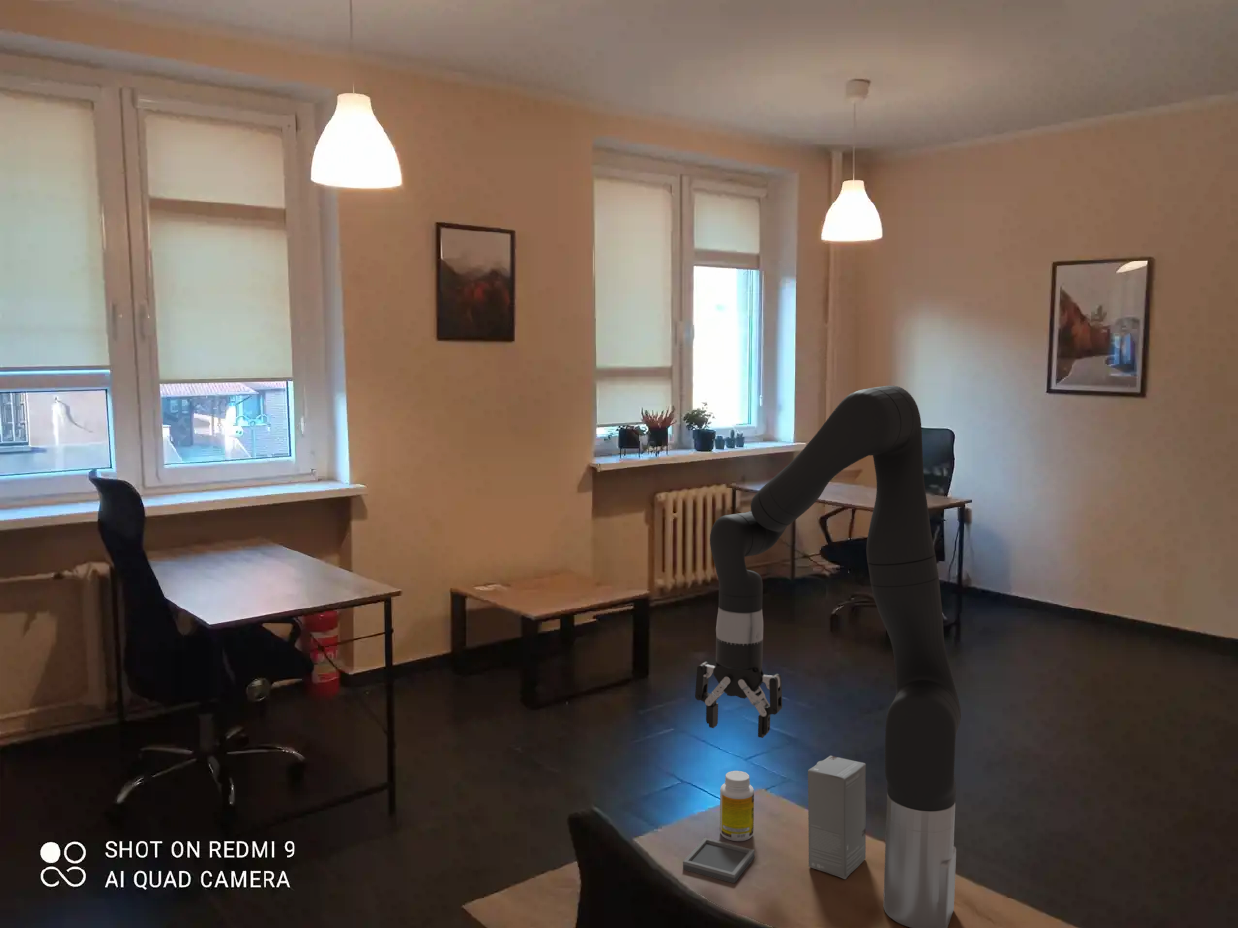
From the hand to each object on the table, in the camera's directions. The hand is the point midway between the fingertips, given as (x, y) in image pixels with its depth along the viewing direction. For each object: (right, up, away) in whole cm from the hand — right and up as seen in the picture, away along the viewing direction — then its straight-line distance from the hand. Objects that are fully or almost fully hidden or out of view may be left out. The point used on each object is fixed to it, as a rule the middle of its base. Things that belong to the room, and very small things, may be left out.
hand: (737, 731), depth 159 cm
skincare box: (+15, -19, -7) cm, 25 cm away
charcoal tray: (-4, -19, -7) cm, 20 cm away
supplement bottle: (0, -18, +2) cm, 18 cm away
